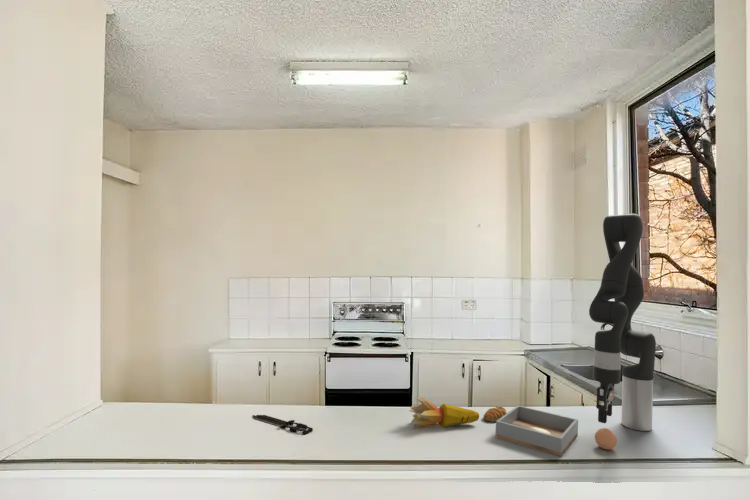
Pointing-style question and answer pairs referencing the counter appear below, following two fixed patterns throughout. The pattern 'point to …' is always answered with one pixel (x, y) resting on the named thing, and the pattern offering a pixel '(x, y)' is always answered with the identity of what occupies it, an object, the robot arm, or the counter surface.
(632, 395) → the robot arm
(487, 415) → the pastry
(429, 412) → the torch
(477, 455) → the counter surface
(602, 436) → the brown egg
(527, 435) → the pen walls
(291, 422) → the knife
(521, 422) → the pen board
